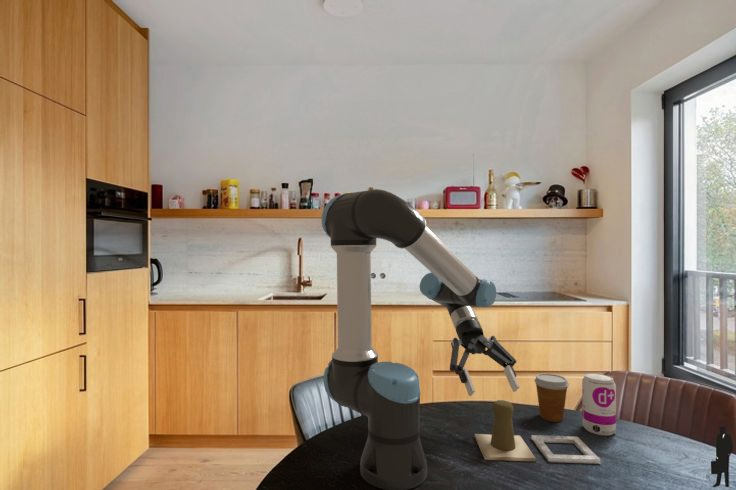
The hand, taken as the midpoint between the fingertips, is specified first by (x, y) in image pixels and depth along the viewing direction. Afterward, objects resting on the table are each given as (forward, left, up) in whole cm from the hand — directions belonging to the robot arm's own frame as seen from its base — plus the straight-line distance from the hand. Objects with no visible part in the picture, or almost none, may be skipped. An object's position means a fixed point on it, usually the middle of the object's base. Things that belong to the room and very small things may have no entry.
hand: (494, 391), depth 109 cm
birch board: (+1, -5, -13) cm, 14 cm away
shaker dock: (+16, -5, -13) cm, 21 cm away
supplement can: (+31, +8, -13) cm, 34 cm away
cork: (+1, -5, -12) cm, 13 cm away
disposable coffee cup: (+21, +16, -13) cm, 29 cm away
